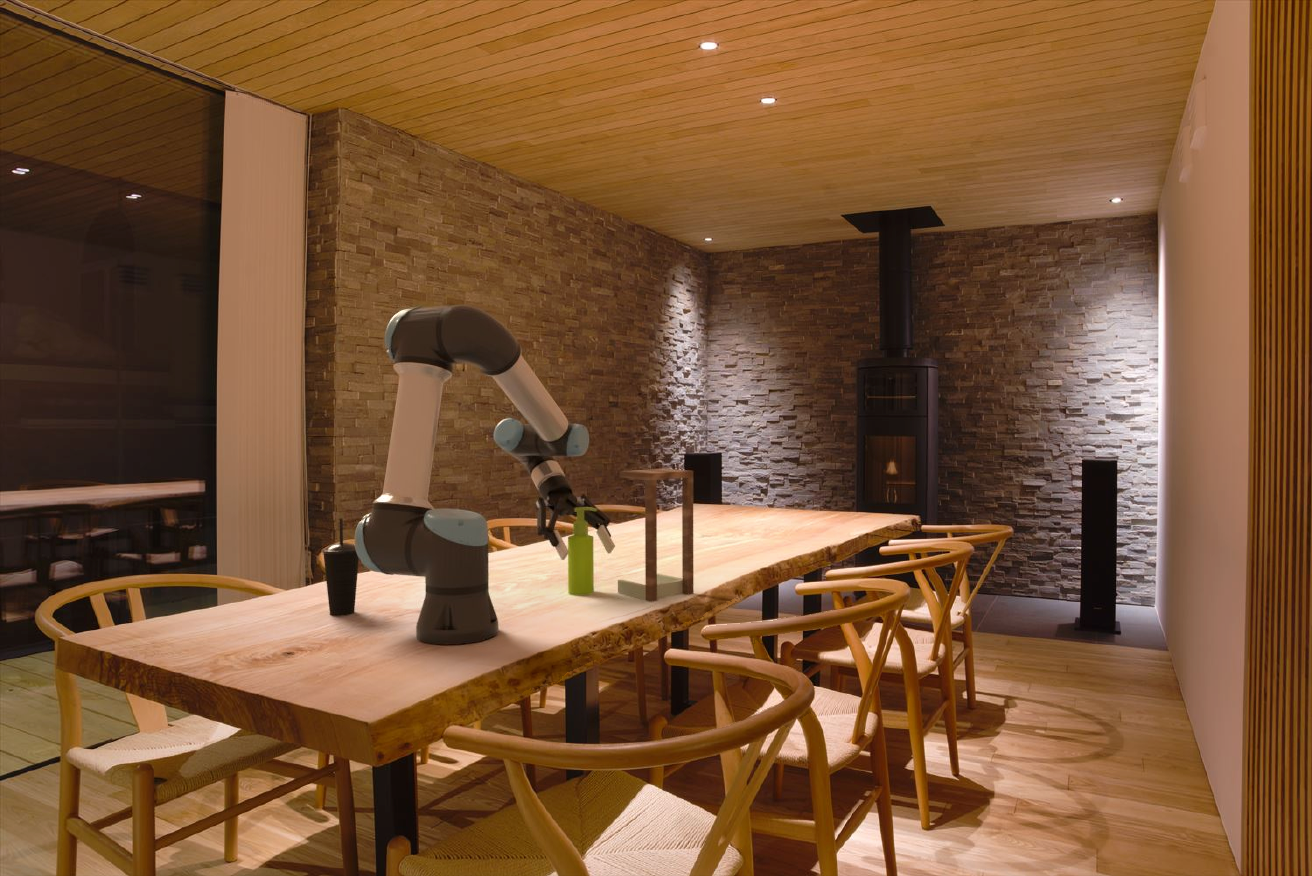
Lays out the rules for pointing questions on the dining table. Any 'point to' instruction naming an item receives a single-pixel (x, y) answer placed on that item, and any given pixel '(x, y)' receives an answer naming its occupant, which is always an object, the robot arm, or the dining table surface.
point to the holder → (664, 587)
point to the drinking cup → (341, 575)
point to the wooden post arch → (651, 525)
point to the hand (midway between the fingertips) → (589, 553)
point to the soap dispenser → (580, 556)
